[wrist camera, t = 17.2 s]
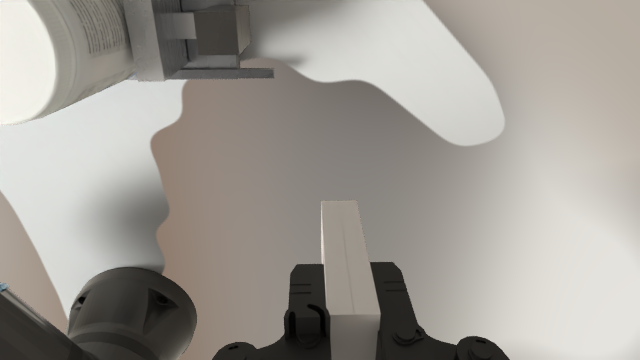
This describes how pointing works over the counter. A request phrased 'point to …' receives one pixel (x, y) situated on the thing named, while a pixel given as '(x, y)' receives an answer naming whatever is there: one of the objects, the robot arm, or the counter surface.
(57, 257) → the counter surface
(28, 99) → the supplement tub
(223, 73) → the vise
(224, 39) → the sliding jaw
